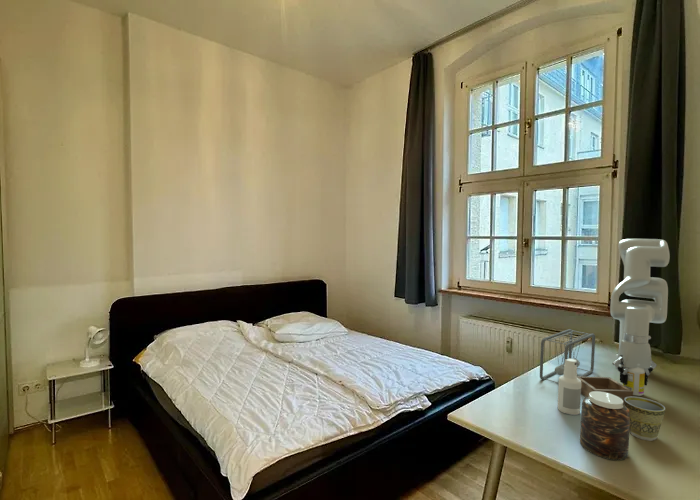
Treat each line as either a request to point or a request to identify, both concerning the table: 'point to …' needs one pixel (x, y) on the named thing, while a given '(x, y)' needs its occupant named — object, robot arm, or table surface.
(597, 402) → the jar
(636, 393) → the supplement bottle
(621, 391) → the box
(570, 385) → the spray bottle
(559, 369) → the newton's cradle
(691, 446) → the table surface
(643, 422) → the ceramic cup
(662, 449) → the table surface
